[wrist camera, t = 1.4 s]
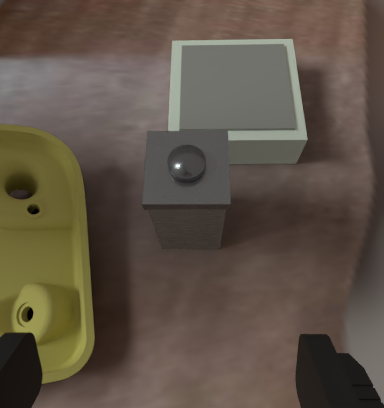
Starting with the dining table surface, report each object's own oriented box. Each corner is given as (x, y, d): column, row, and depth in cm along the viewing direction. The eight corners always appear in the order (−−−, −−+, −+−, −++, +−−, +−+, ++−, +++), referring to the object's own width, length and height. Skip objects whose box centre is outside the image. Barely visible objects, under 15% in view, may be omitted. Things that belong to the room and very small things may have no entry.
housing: (159, 251, 31) (140, 200, 21) (162, 195, 33) (146, 125, 23) (222, 251, 30) (231, 199, 21) (220, 195, 33) (228, 125, 23)
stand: (171, 164, 34) (167, 138, 30) (175, 70, 39) (172, 38, 35) (296, 163, 34) (308, 137, 30) (284, 69, 39) (293, 36, 35)
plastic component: (97, 372, 25) (-80, 408, 20) (80, 371, 31) (-58, 398, 26) (81, 131, 31) (-54, 118, 27) (70, 169, 38) (-42, 164, 33)
